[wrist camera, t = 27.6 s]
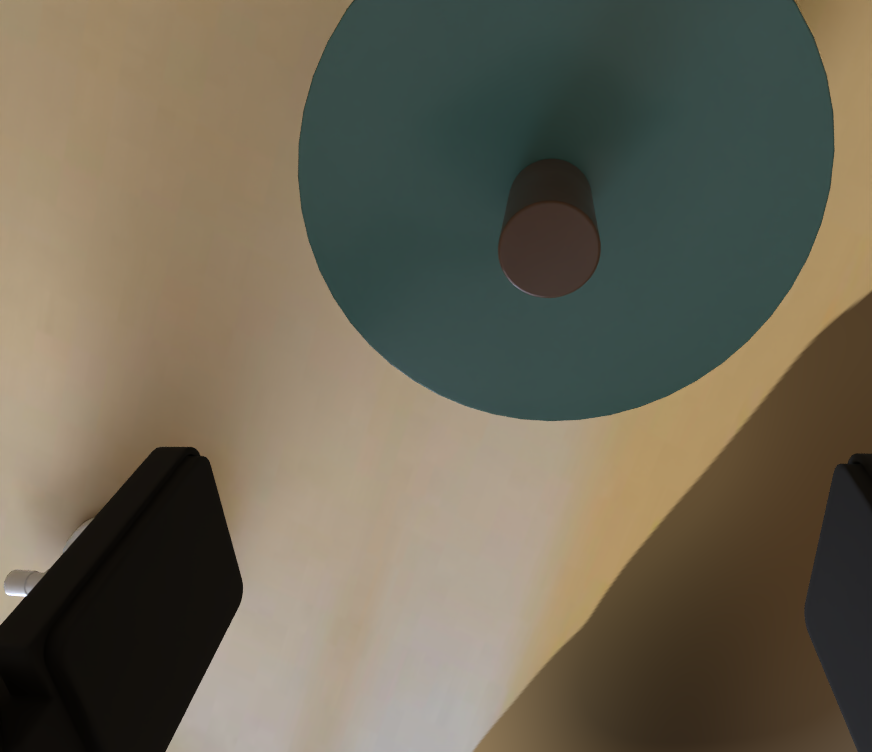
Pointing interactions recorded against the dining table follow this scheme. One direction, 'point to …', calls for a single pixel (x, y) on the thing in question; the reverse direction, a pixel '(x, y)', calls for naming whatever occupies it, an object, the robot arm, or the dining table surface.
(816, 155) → the tin lid
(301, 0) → the dining table surface
